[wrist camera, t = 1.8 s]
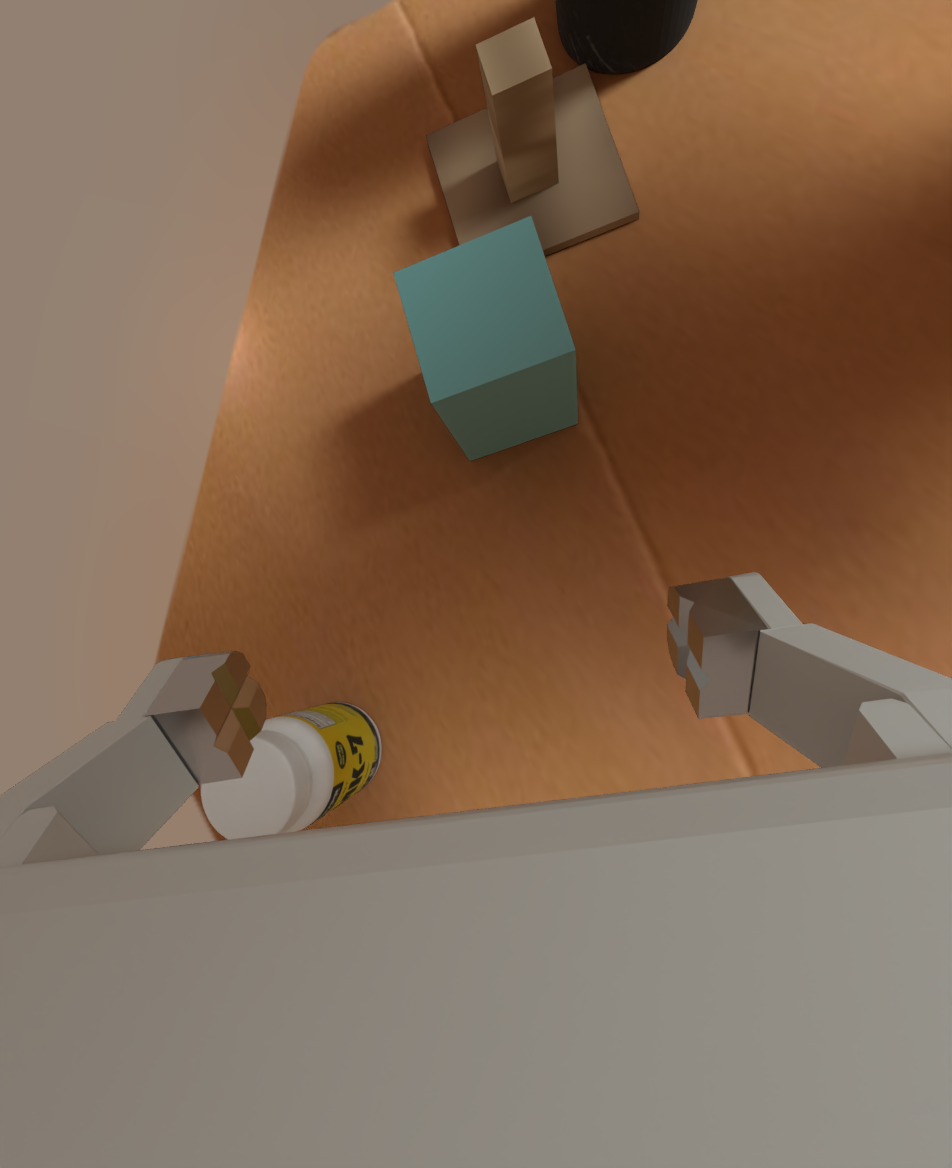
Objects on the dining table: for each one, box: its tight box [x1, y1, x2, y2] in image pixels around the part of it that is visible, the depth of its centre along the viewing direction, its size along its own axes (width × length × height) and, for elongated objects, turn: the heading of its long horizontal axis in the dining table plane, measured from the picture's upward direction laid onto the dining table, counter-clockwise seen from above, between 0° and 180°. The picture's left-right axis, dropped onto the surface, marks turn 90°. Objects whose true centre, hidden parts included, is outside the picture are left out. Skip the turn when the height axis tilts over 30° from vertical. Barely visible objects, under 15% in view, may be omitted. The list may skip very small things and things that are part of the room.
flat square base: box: [426, 17, 639, 256], centre depth 27 cm, size 9×9×6 cm
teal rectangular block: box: [393, 216, 578, 461], centre depth 25 cm, size 6×6×8 cm
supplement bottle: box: [201, 702, 382, 840], centre depth 25 cm, size 5×5×8 cm
